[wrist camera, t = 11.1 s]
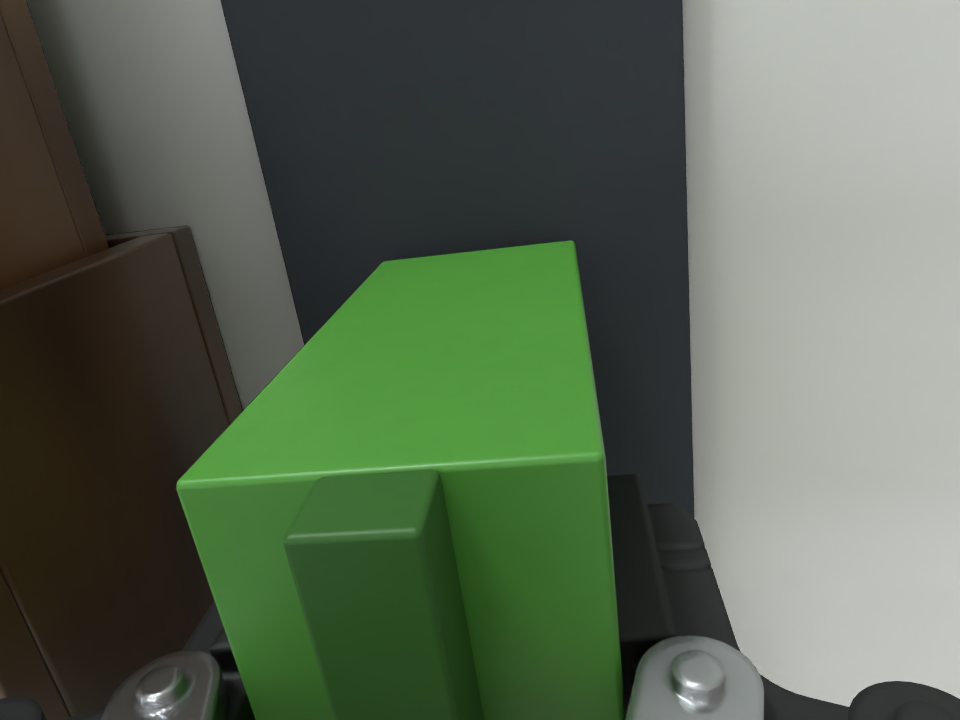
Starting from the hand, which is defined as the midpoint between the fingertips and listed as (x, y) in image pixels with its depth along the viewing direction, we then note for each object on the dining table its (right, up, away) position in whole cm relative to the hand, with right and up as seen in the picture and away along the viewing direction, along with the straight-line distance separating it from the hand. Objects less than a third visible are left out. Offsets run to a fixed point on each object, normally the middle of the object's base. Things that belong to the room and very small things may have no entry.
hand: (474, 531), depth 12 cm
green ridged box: (+1, +2, +4) cm, 5 cm away
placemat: (+1, +2, +5) cm, 6 cm away
